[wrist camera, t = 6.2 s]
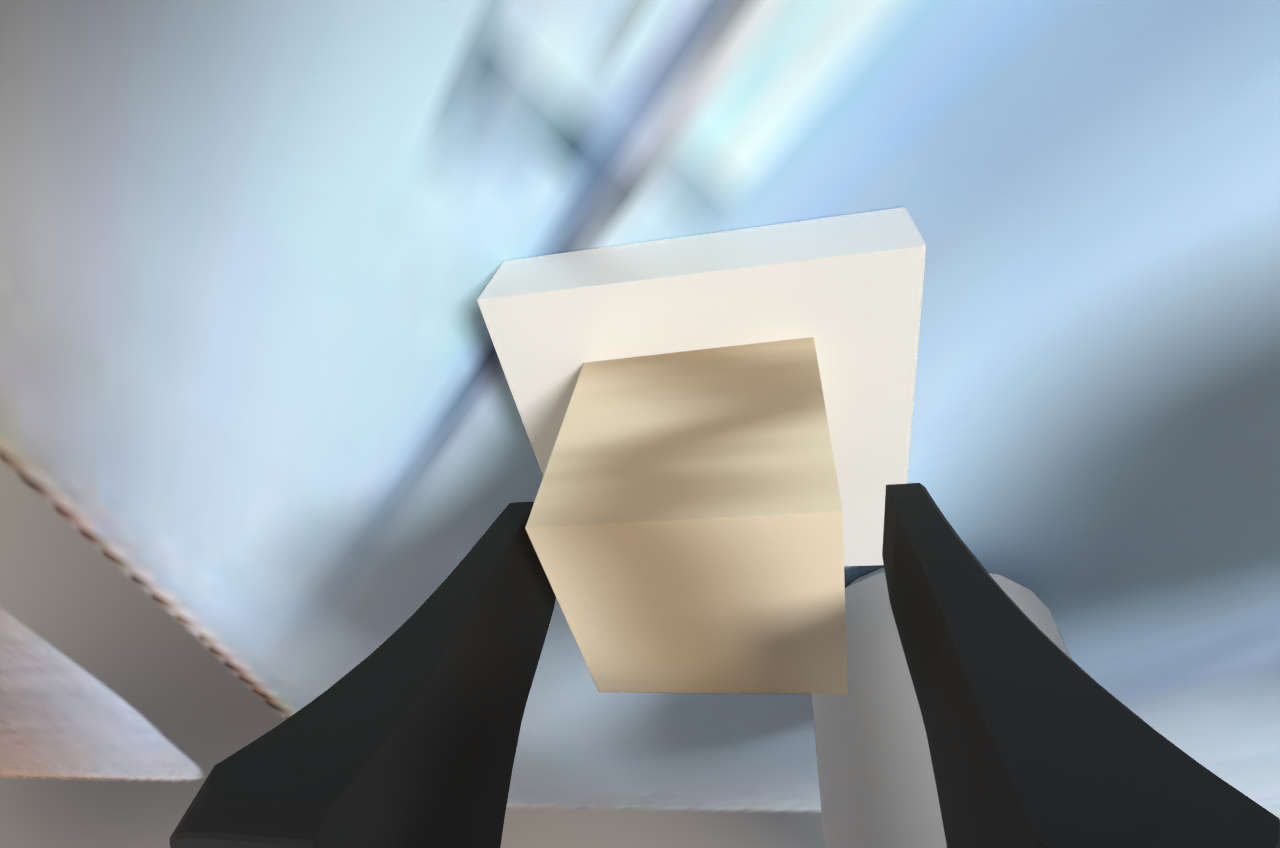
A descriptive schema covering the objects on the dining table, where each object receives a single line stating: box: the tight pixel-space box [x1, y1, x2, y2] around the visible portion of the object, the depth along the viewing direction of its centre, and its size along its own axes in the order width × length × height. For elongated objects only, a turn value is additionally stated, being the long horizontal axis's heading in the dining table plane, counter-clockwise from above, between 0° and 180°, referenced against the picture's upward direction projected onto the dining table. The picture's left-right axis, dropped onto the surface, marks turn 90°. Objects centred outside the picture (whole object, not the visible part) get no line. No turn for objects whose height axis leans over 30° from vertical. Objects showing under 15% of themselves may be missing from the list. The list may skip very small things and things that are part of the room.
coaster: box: [477, 207, 926, 566], centre depth 16 cm, size 9×9×2 cm
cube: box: [525, 337, 848, 694], centre depth 13 cm, size 5×5×5 cm
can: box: [811, 567, 1072, 848], centre depth 17 cm, size 8×8×12 cm
